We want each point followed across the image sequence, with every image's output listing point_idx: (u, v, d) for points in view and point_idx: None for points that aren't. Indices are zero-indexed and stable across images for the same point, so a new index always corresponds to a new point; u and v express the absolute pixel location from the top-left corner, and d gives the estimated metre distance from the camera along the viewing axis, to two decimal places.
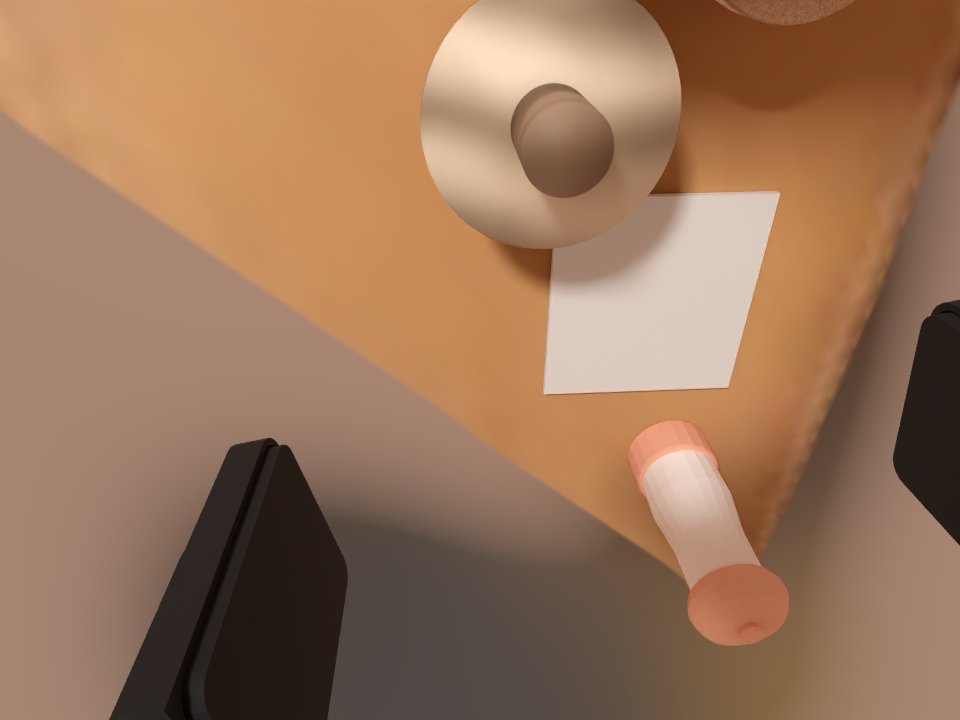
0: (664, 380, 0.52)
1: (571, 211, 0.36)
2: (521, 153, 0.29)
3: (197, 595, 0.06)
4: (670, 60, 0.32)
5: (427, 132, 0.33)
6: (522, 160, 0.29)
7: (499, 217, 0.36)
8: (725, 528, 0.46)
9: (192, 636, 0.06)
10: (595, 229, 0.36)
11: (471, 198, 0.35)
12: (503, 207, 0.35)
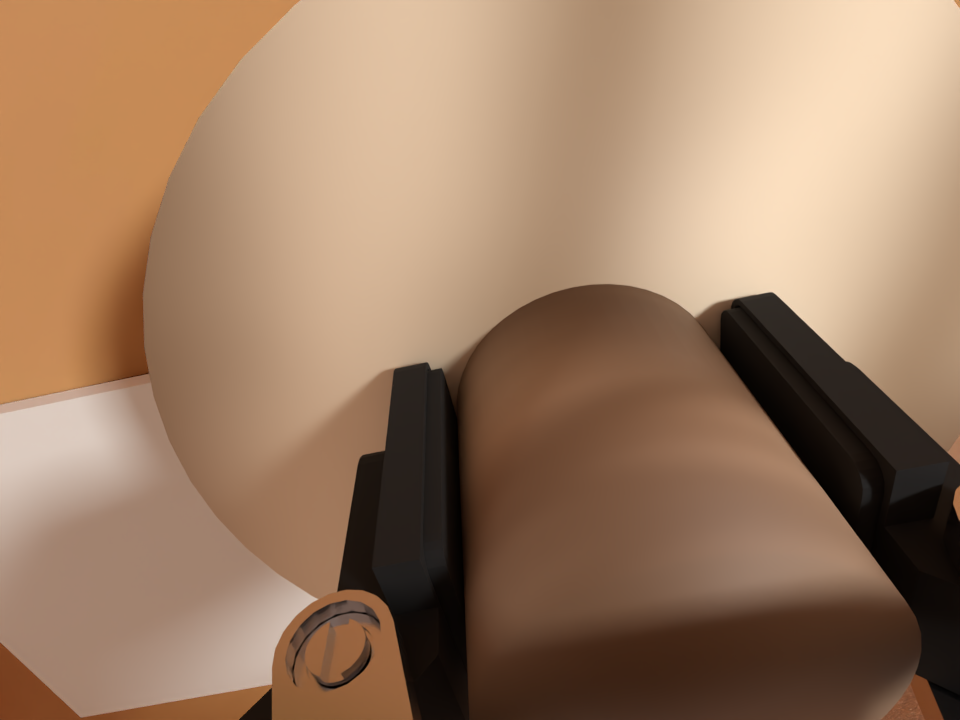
0: (26, 639, 0.25)
1: (344, 514, 0.11)
2: (676, 553, 0.05)
3: (413, 477, 0.07)
4: None
5: None
6: (643, 572, 0.05)
7: (240, 324, 0.09)
8: None
9: (421, 507, 0.07)
10: (313, 577, 0.12)
11: (272, 205, 0.08)
12: (281, 330, 0.09)
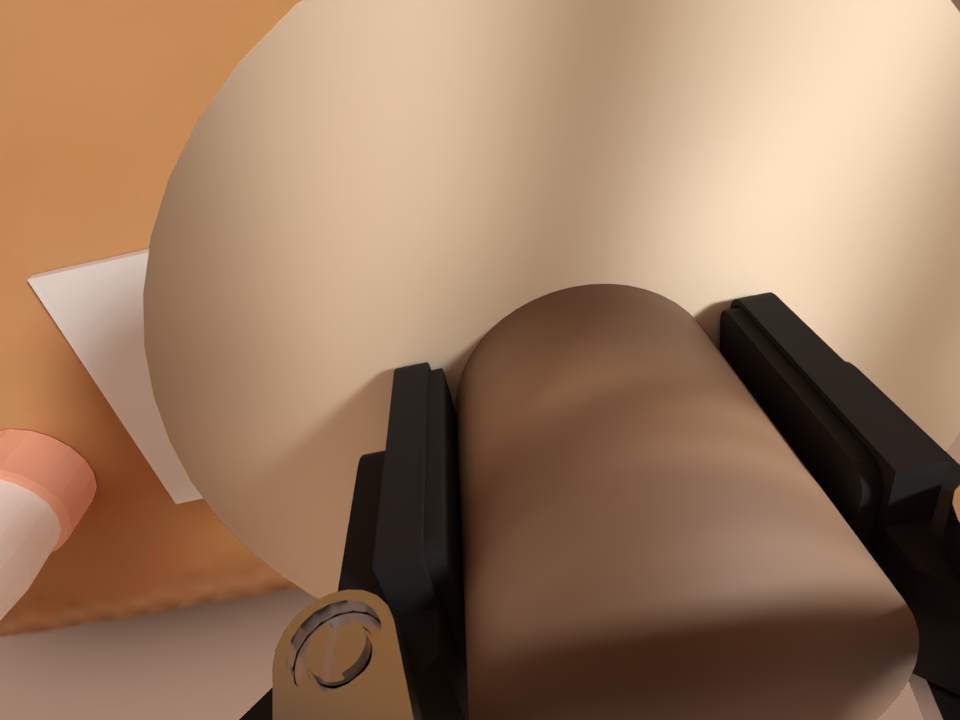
0: (147, 431, 0.36)
1: (343, 514, 0.11)
2: (674, 551, 0.05)
3: (413, 477, 0.07)
4: None
5: None
6: (641, 570, 0.05)
7: (240, 323, 0.09)
8: None
9: (422, 506, 0.07)
10: (313, 576, 0.12)
11: (272, 204, 0.08)
12: (281, 330, 0.09)
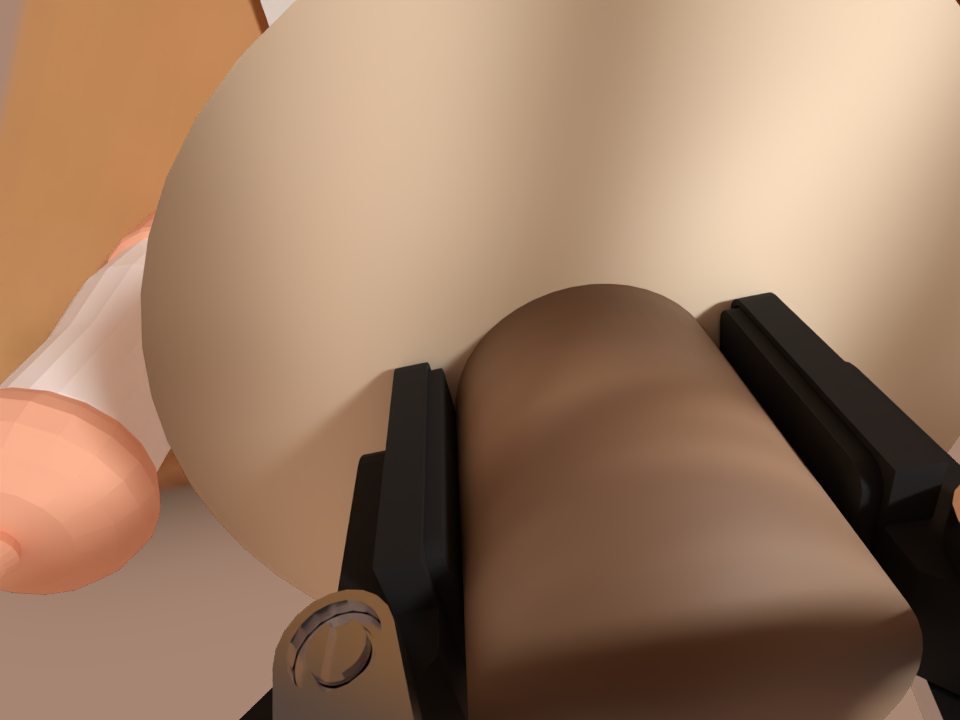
0: None
1: (343, 515, 0.11)
2: (676, 554, 0.05)
3: (413, 477, 0.07)
4: None
5: None
6: (642, 573, 0.05)
7: (238, 324, 0.09)
8: None
9: (421, 507, 0.07)
10: (312, 577, 0.12)
11: (270, 204, 0.08)
12: (280, 331, 0.09)
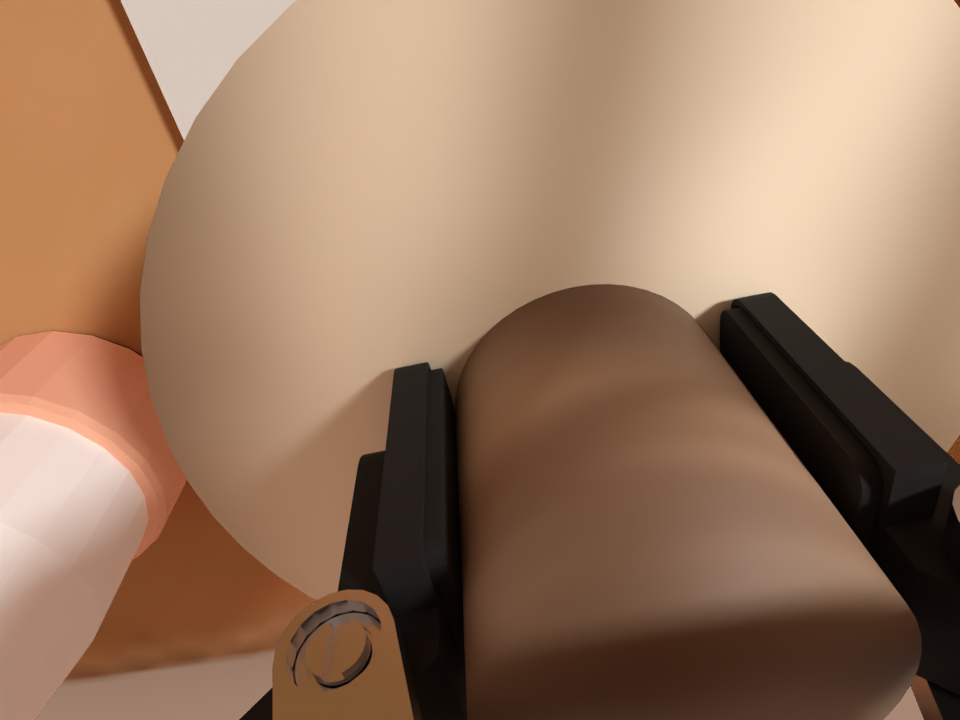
0: None
1: (342, 515, 0.11)
2: (675, 555, 0.05)
3: (413, 477, 0.07)
4: None
5: None
6: (641, 573, 0.05)
7: (238, 324, 0.09)
8: None
9: (421, 507, 0.07)
10: (312, 578, 0.12)
11: (269, 204, 0.08)
12: (278, 331, 0.09)
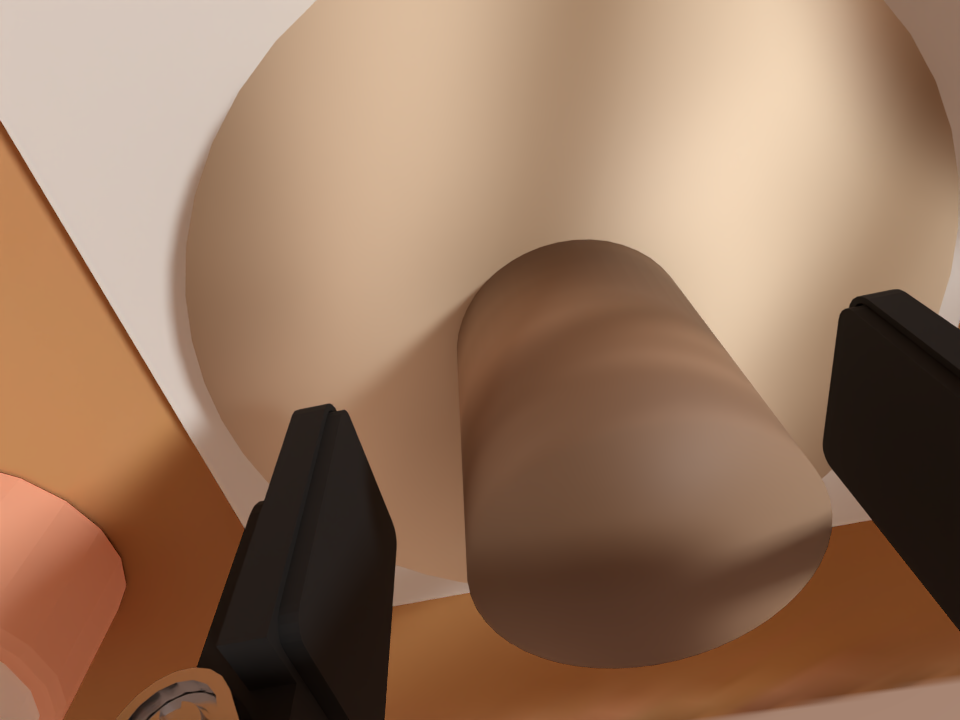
0: (255, 468, 0.14)
1: None
2: (628, 422, 0.06)
3: (282, 539, 0.07)
4: None
5: None
6: (602, 436, 0.06)
7: (269, 274, 0.11)
8: None
9: (283, 574, 0.06)
10: None
11: (299, 167, 0.10)
12: (305, 280, 0.11)
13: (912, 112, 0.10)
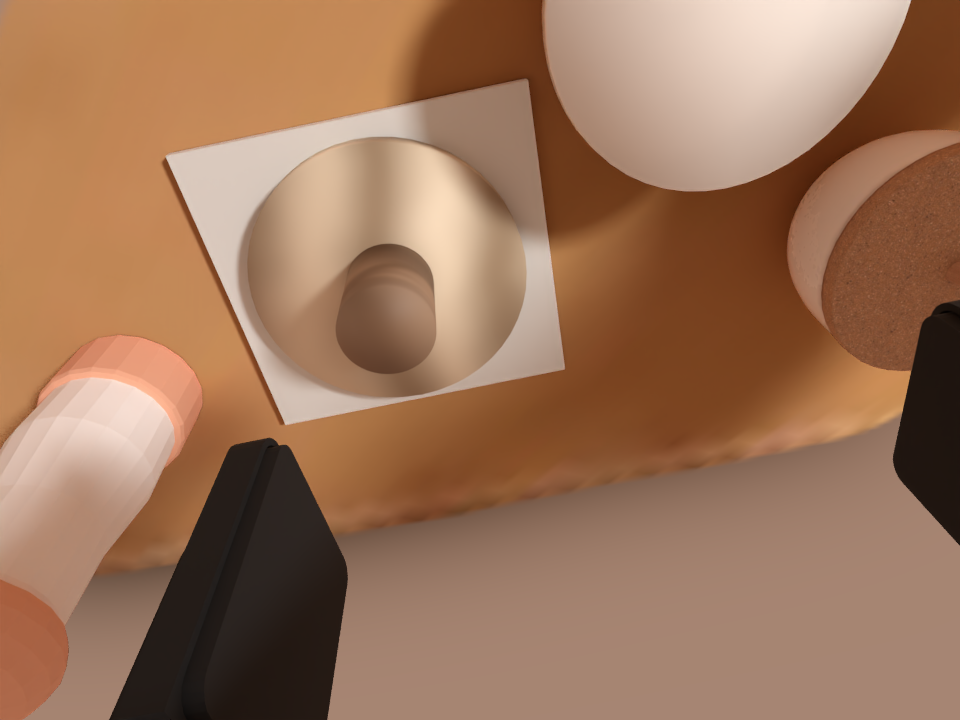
0: (267, 339, 0.34)
1: (310, 327, 0.32)
2: (371, 287, 0.26)
3: (197, 595, 0.06)
4: (473, 368, 0.34)
5: (349, 154, 0.28)
6: (365, 290, 0.26)
7: (277, 255, 0.30)
8: (92, 545, 0.25)
9: (192, 636, 0.06)
10: (298, 356, 0.33)
11: (288, 219, 0.29)
12: (290, 257, 0.30)
13: (491, 202, 0.30)
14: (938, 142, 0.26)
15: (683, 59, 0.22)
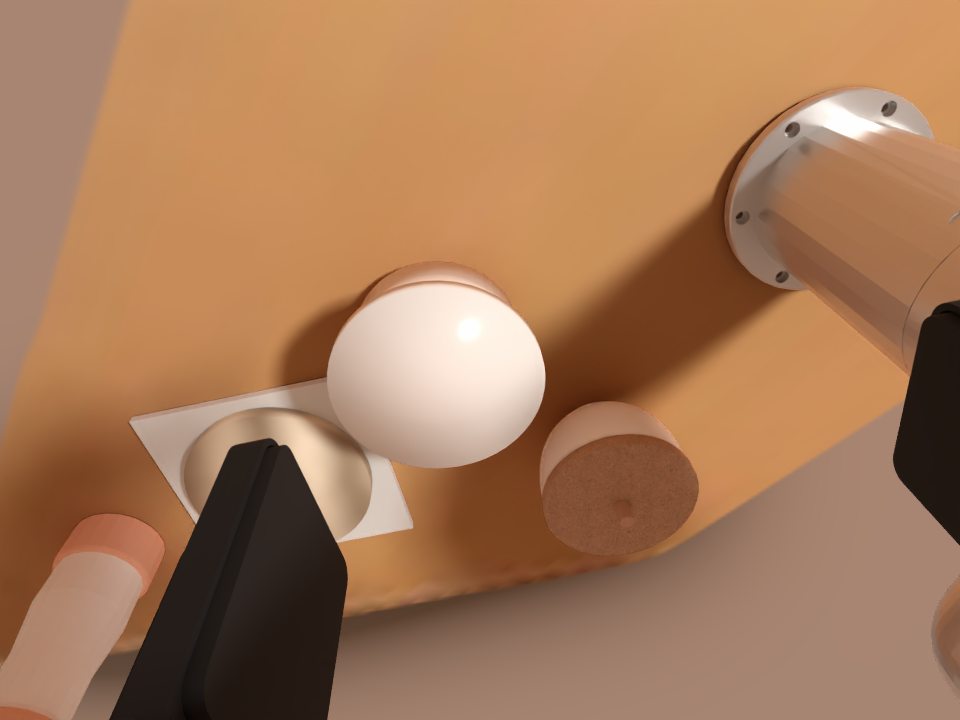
0: None
1: None
2: None
3: (197, 595, 0.06)
4: (344, 533, 0.50)
5: (241, 423, 0.44)
6: None
7: (202, 476, 0.46)
8: (84, 675, 0.42)
9: (192, 636, 0.06)
10: None
11: (207, 457, 0.45)
12: (211, 477, 0.46)
13: (338, 444, 0.45)
14: (600, 431, 0.41)
15: (415, 410, 0.38)
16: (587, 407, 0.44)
